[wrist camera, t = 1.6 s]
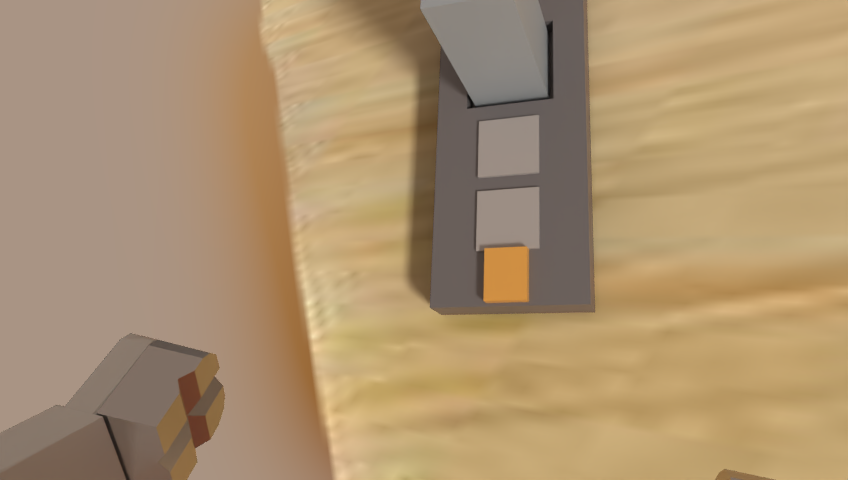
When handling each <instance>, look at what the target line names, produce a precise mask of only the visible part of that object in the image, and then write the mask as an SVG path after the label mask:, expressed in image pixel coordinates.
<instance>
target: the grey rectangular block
mask: <svg viewBox="0 0 848 480" xmlns="http://www.w3.org/2000/svg"><path fill="white" fill-rule="evenodd" d="M420 9H421V11H422V13H423V15H424V16H425V18H426V20H427V22H428V24H429V25H430V27H431V29H432V31H433V32H434V34H435V36H436V38H437V39H438V41H439V43H440V45H441V46H442V48H443V50H444V52H445V53H446V55H447V57H448V59H449V60H450V62H451V64H452V66H453V67H454V69H455V71H456V73H457V74H458V76H459V78H460V80H461V82H462V83H463V85H464V87H465V89H466V90H467V92H468V94H469V96H470V97H471V99H472V101H473V103H474V104H475V106H476V108H478V107H487V106H495V105H504V104H512V103H520V102H529V101H537V100H546V99H550V42H549V35H548V31H547V28H546V25H545V21H544V18H543V14H542V11H541V8H540V4H539V1H538V0H421V5H420Z"/></svg>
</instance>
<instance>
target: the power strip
mask: <svg viewBox="0 0 848 480" xmlns="http://www.w3.org/2000/svg"><path fill="white" fill-rule="evenodd" d="M538 1H539V4H540V8H541V11H542V14H543V18H544V21H545V25H546V28H547V31H548V35H549V42H550V99H546V100H537V101H529V102H520V103H512V104H504V105H495V106H487V107H478V108H476V106H475V104H474V103H473V101H472V99H471V97H470V96H469V94H468V92H467V90H466V89H465V87H464V85H463V83H462V82H461V80H460V78H459V76H458V74H457V73H456V71H455V69H454V67H453V66H452V64H451V62H450V60H449V59H448V57H447V55H446V53H445V52H444V50H443V48H442V46H441V57H440V81H439V104H438V128H437V152H436V175H435V199H434V223H433V247H432V270H431V294H430V308H431V309H433V310H434V311H436V312H438V313H439V314H441V315H458V314H513V313H569V312H595V291H594V253H593V215H592V178H591V140H590V102H589V65H588V27H587V0H538Z"/></svg>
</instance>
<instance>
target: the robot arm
mask: <svg viewBox="0 0 848 480" xmlns="http://www.w3.org/2000/svg"><path fill="white" fill-rule="evenodd" d="M218 370H219V363H218V360H217V356H216V354H212V353H208V352H204V351H200V350H196V349H192V348H188V347H185V346H181V345H176V344H172V343H168V342H164V341H160V340H157V339H153V338H149V337H144V336H140V335H136V334H132V333H130V334H129V335H127V336H125V337H123V338H122V339H120V340H119V342H118V343H117V344H116V345H115V346H114V348H113V349H112V350H111V351H110V352H109V354H108V355H107V356H106V357H105V358H104V360H103V361H102V362H101V363H100V365H99V366H98V367H97V368H96V369H95V371H94V372H93V373H92V374H91V375H90V377H89V378H88V379H87V380H86V381H85V383H84V384H83V385H82V386H81V388H80V389H79V390H78V391H77V392H76V394H75V395H74V396H73V397H72V398H71V400H70V401H69V402H68V403H67V404H66V406H60V405H55V406H53V407H51V408H49V409H47V410H45V411H43V412H41V413H39V414H38V415H35V416H33V417H31V418H29V419H27V420H25V421H23V422H21V423H19V424H17V425H15V426H13V427H11V428H9V429H7V430H5V431H3V432H1V433H0V480H187V478H188V477H189V475H190V473H191V472H192V470H193V468H194V467H195V465H196V463H197V456H196V450H195V448H197V447H198V446H200V445H202V444H203V443H205V442H207V441H209V440H210V439H211V437H212V436H213V434H214V432H215V430H216V428H217V427H218V425H219V422H220V419H221V415H222V412H223V409H224V399H225V394H224V388H223V385H222V384H221V383H220V382H219V381H218V380H217V379H216V378H215V375H216V373H217V371H218ZM715 480H774V479H769V478H765V477H760V476H755V475H751V474H746V473H741V472H737V471H732V470H727V469H724V470H722V471H721V472H719V474H718V476H717V477H716V479H715Z"/></svg>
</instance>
